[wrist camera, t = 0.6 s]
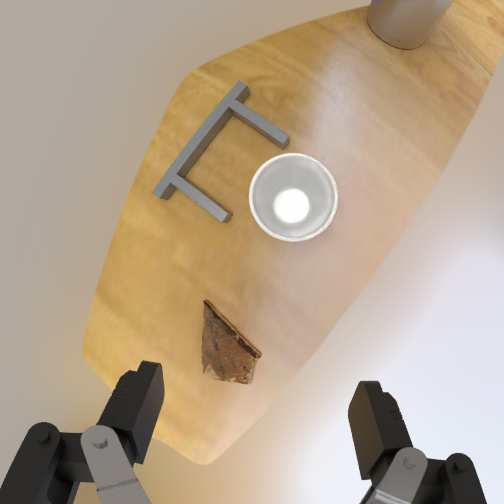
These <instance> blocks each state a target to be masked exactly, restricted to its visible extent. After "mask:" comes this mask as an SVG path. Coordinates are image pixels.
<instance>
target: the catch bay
mask: <svg viewBox="0 0 504 504" xmlns="http://www.w3.org/2000/svg"><path fill="white" fill-rule="evenodd" d="M249 95H250V93H249V90H248V87H247V85H246V84H244V83H243V82H241V81H238V82H237V83H236V84H235V86H234V87H233V88H232V89H231V90H230V91H229V93H228V94H227V95H226V96H225V97H224V98H223V100H222V101H221V102H220V103H219V104H218V106H217V107H216V108H215V109H214V110H213V112H212V113H211V114H210V115H209V117H208V118H207V119H206V120H205V122H204V123H203V124H202V125H201V127H200V128H199V129H198V130H197V132H196V133H195V134H194V136H193V137H192V138H191V139H190V141H189V142H188V143H187V145H186V146H185V147H184V149H183V150H182V151H181V153H180V154H179V155H178V157H177V158H176V159H175V161H174V162H173V163H172V165H171V166H170V168H169V169H168V170H167V172H166V173H165V175H164V176H163V177H162V179H161V180H160V182H159V183H158V184H157V186H156V187H155V189H154V190H153V192H152V193H153V194H155V195H156V196H157V197H158V198H161V199H166V200H168V199H169V198H170V196H171V195H172V194H173V192H174V191H175V189H176V188H178V189H180V190H181V191H182V192H183V193H185V194H186V195H187V196H189V197H190V198H191V199H192V200H194V201H195V202H196V203H198V204H199V205H200V206H201V207H203V208H204V209H205V210H207V211H208V212H209V213H210V214H212V215H213V216H214V217H215V218H217V219H218V220H219V221H221V222H227V221H228V220H229V219H230V217H231V216H232V215H233V214H231V213H230V212H229V211H228V210H226V209H225V208H224V207H222V206H221V205H220V204H218V203H217V202H216V201H215V200H213V199H212V198H211V197H209V196H208V195H207V194H205V193H204V192H203V191H201V190H200V189H199V188H198V187H196V186H195V185H194V184H192V183H191V182H190V181H188V180H187V179H186V178H184V177H185V176H186V174H187V173H188V172H189V170H190V169H191V168H192V166H193V165H194V164H195V162H196V161H197V160H198V158H199V157H200V156H201V154H202V153H203V152H204V150H205V149H206V148H207V146H208V145H209V144H210V143H211V141H212V140H213V139H214V138H215V136H216V135H217V134H218V132H219V131H220V130H221V129H222V127H223V126H224V125H225V124H226V123H227V121H228V120H229V119H230V118H231V116H232V115H234V116H235V117H237V118H238V119H240V120H241V121H243V122H244V123H246V124H247V125H249V126H250V127H252V128H253V129H255V130H256V131H258V132H259V133H261V134H262V135H263V136H265V137H266V138H268V139H269V140H270V141H272V142H273V143H275V144H276V145H277V146H279V147H280V148H282V149H284V148H285V146H286V145H287V144H288V143H289V135H288V134H286V133H285V132H283V131H282V130H280V129H279V128H278V127H276V126H275V125H273V124H272V123H270V122H269V121H267V120H266V119H264V118H263V117H262V116H260V115H259V114H257V113H256V112H254V111H252V110H251V109H249V108H248V107H246V106H245V105H243V104H242V103H243V102H244V101H245V100H246V98H247V97H248V96H249Z"/></svg>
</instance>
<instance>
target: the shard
mask: <svg viewBox="0 0 504 504" xmlns="http://www.w3.org/2000/svg"><path fill="white" fill-rule="evenodd" d="M203 314H204V328H203V335H202V364H203V374H204V376H206V377H209V378H213V379H215V380H222V381H229V382H238V383H242V384H250V383H251V381H252V373H253V368H254V366H255V364H256V361H257V360H258V359H259V358H260V357H261V354H260V353H259V352H258V351H257V350H256V349H254V348H253V347H252V346H251V345H250V344H249V343H248V341H246V340H245V339H244V338H242V337H241V336H240V334H239V333H238V332H237V331H236V330H235V328H234V327H233V326H232V325H231V324H230V323H229V322H228V321H227V320H226V319H225V318H224V316H223V315H222V314H221V313H220V312H219V311H218V310H216V309H215V308H214V307H213V306H212V305H210V304H209V303H208V302H207V301H205V300H204V313H203Z"/></svg>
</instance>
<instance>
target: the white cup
mask: <svg viewBox="0 0 504 504" xmlns="http://www.w3.org/2000/svg"><path fill="white" fill-rule="evenodd" d="M249 205H250V209H251V212H252V215H253V217H254V219H255V220H256V222H257V223H258V225H259V226H260V227H261V228H262V229H263V230H264V231H265V232H267V233H268V234H269V235H271V236H273V237H275V238H277V239H280V240H283V241H288V242H300V241H305V240H308V239H311V238H313V237H315V236H317V235H319V234H320V233H321V232H323V231H324V230H325V229H326V228H327V227H328V226H329V224H330V223H331V221H332V220H333V218H334V216H335V213H336V210H337V206H338V190H337V186H336V183H335V180H334V178H333V176H332V174H331V173H330V171H329V170H328V169H327V168H326V167H325V166H324V165H323V164H322V163H321V162H319V161H318V160H316V159H315V158H313V157H311V156H308V155H305V154H300V153H286V154H281V155H278V156H275V157H273V158H271V159H270V160H268V161H267V162H265V163H264V164H263V165H262V166H261V167H260V168H259V169H258V171H257V172H256V173H255V175H254V177H253V179H252V182H251V185H250V189H249Z"/></svg>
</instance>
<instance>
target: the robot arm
mask: <svg viewBox="0 0 504 504" xmlns="http://www.w3.org/2000/svg"><path fill="white" fill-rule="evenodd" d="M453 2H454V0H372V2H371V4H370V7H369V10H368V13H367V21H368V24H369V26H370V28H371V29H372V31H373V32H374V33H375V34H376V35H377V36H378V37H379V38H380V39H382V40H383V41H384V42H386V43H388V44H390V45H392V46H394V47H397V48H401V49H414V48H417V47H419V46H420V45H422V43H423V42H424V41H425V39H426V38H427V37H428V35H429V34H430V33H431V32H432V30H433V29H434V28H435V26H436V25H437V24H438V22H439V21H440V19H441V18H442V17H443V15H444V14H445V13H446V11H447V10H448V9H449V7H450V6H451V4H452V3H453ZM163 400H164V381H163V372H162V365H161V364H160V363H155V362H149V361H144V360H143V361H142V362H141V364H140V366H139V368H138V370H137V372H136V371H131V370H129V371H128V372H126V373H125V374H124V375H123V376H121V377H120V379H119V381H118V383H117V385H116V388H115V389H114V391H113V393H112V396H111V397H110V399H109V401H108V403H107V405H106V407H105V409H104V411H103V413H102V415H101V417H100V419H99V421H98V423H97V424H96V426H92V427H90V428H88V429H86V430H85V431H84V432H83V433H63V432H59V430H58V429H57V427H55V426H54V425H53V424H51V423H47V422H41V423H37V424H35V425H33V426H32V427H31V428H30V429H29V431H28V433H27V435H26V436H25V438H24V441H23V442H22V444H21V446H20V448H19V450H18V452H17V454H16V456H15V458H14V460H13V462H12V464H11V466H10V468H9V471H8V473H7V475H6V477H5V479H4V481H3V484H2V486H1V488H0V504H73V502H74V499H75V496H76V493H77V490H78V486H79V484H80V482H93V483H95V484H96V487H97V494H98V497H99V499H100V502H101V504H151V502H150V500H149V499H148V497H147V495H146V493H145V491H144V490H143V487H142V486H141V484H140V482H139V480H138V479H137V477H136V475H135V473H134V471H133V469H132V468H133V465H134V462H135V463H139V464H143V462H144V459H145V456H146V452H147V449H148V446H149V443H150V440H151V437H152V434H153V431H154V428H155V425H156V422H157V419H158V416H159V413H160V410H161V407H162V404H163ZM399 411H400V410H399V407H398V405H397V402H396V400H395V399H394V398H393V397H392V396H391V395H390V394H389V393H388V392H386V393H385V392H383V391H382V388H381V385H380V383H379V382H378V381H360V382H359V384H358V386H357V388H356V391H355V393H354V396H353V398H352V401H351V403H350V405H349V409H348V419H349V423H350V428H351V432H352V437H353V441H354V446H355V451H356V455H357V460H358V465H359V470H360V475H361V479H362V480H368V479H371V482H372V485H371V486H370V488H369V489H368V491H367V493H366V494H365V496H364V497H363V499H362V500H361V502H360V504H487V502H486V499H485V496H484V493H483V490H482V487H481V484H480V481H479V478H478V476H477V473H476V470H475V467H474V465H473V462H472V461H471V459H470V458H469V457H468V456H466V455H465V454H462V453H455V454H452V455H450V456H449V457H448V458H447V459H446V460H437V459H429V458H426V456H425V454H424V453H423V452H422V451H420V450H419V449H416V448H414V447H413V445H412V442H411V439H410V436H409V434H408V431H407V428H406V425H405V423H404V420H402V418H403V417H402V415H401V412H399Z"/></svg>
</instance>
